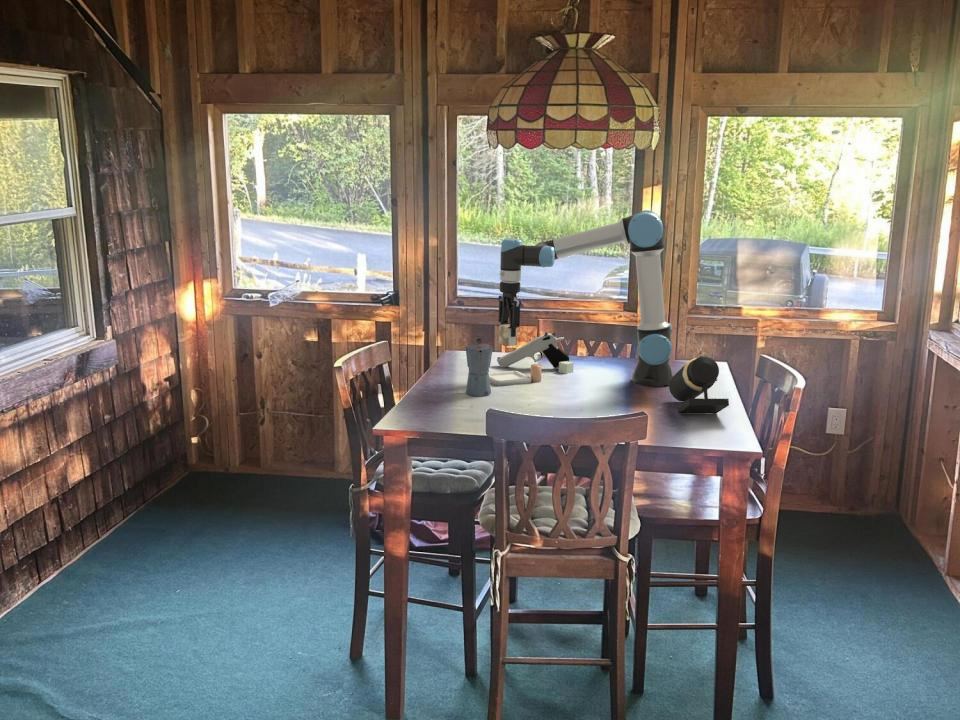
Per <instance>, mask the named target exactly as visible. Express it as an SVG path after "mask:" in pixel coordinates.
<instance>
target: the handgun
mask: <svg viewBox="0 0 960 720" xmlns="http://www.w3.org/2000/svg"><path fill="white" fill-rule="evenodd" d="M564 339H565V337H564V336H562V337H561V336H560V337H556V331H554V332H551V333H550V332H548V331H545V333H544V335H540V336H537V337H536V338H534V339H532V340H531V341H529V342H527V343H526V344H524V345H522V346H520V347H518V348H517V349H515V350H512V351H510V352H508V353H507V354H505V355H503V356H499V357H497V359H496V362H497V363H498V365H499V366H500V367H501V368H502V367H504V368H505V367H506V368H508V367H510V366H512V365H513V364H516V363H518V362H519V361H521V360H523V359H525V358H531V359H532V360H533V362H534V363H537V362H539V361H540V360H543V359H544V358H545V359H546V360H547V361H548V362H549V363H550V365H551V366H552V367H553V370H554V371H555V370H557V369H558V370H559V362H563V361H568V362H571V358H570V356H569V355H568V354H567V353H565V352H564V351H563V350H562V349H561V348H560V347H559V346H557V345H558V343H559V342H560V341H563V340H564ZM537 353H538V354H540V357H539V358H536V357H535V354H537Z"/></svg>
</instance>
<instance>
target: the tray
mask: <svg viewBox="0 0 960 720" xmlns="http://www.w3.org/2000/svg"><path fill="white" fill-rule="evenodd" d="M488 373H489V380H490V384H492V383H493V385H494V384H495V385H494V386H496V387H504V386H505V387H506V386H514V384H515V385H522V384H524V385H525V384H532V382H531V376H528V375H527V374H525V373H523V372H520V371H518V370H509V371H498V372H497V371H496V372H488Z"/></svg>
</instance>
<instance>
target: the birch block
mask: <svg viewBox="0 0 960 720" xmlns="http://www.w3.org/2000/svg"><path fill="white" fill-rule="evenodd" d="M508 327H510V323H509V324H506V325H501V324H500V325H499V333H498V344H500V345H502V346H503V347H511V346H518V332H519V331H518V330H519V329H518V328H519V327H517V328H516V344H515V345H511V346H509V345H508V331H509V328H508Z"/></svg>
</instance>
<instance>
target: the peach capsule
mask: <svg viewBox="0 0 960 720" xmlns="http://www.w3.org/2000/svg"><path fill="white" fill-rule="evenodd" d="M542 369H543V368H542V364H536V363H534V364H531V365H530V377H531V381H532V382H531V383H541V382H542Z"/></svg>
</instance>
